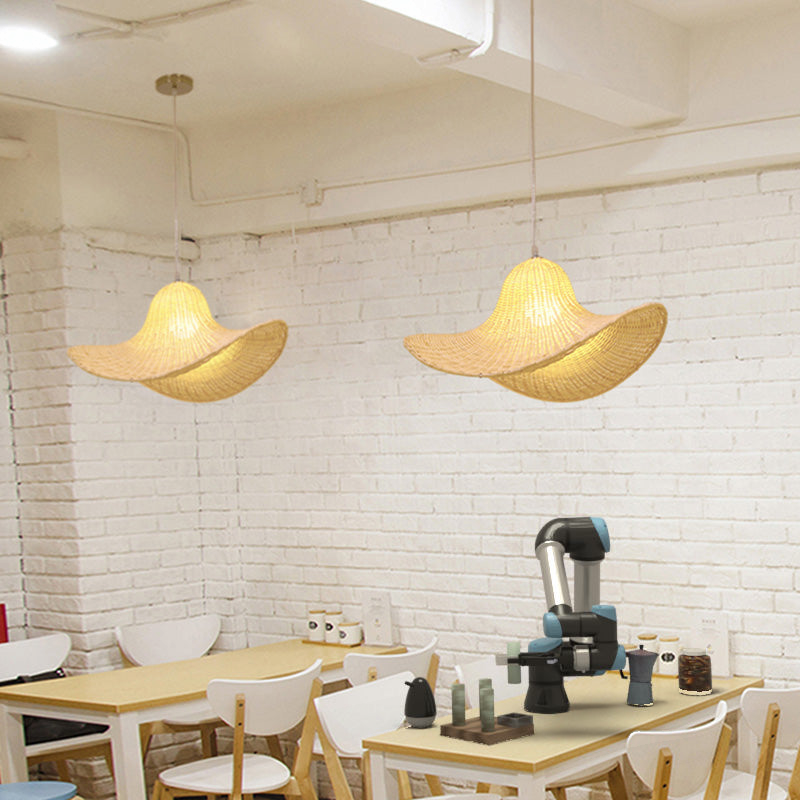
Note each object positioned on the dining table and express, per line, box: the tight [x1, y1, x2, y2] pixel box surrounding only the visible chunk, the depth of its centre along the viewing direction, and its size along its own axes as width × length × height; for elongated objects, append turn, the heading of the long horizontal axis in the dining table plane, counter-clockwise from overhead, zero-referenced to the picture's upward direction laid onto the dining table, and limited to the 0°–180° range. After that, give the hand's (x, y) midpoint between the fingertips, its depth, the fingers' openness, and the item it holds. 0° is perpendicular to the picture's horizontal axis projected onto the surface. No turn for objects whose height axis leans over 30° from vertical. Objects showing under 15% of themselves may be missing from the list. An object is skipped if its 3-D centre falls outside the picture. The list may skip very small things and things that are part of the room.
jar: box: [677, 647, 713, 692], centre depth 415 cm, size 12×12×15 cm
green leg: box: [506, 641, 522, 685], centre depth 354 cm, size 4×4×12 cm
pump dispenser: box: [403, 676, 438, 729], centre depth 369 cm, size 10×10×15 cm
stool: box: [439, 677, 535, 746], centre depth 355 cm, size 20×20×15 cm
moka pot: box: [618, 644, 660, 705], centre depth 396 cm, size 10×15×20 cm, turn 105°
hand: (496, 659), depth 354 cm, fingers closed on green leg, 4 cm apart
